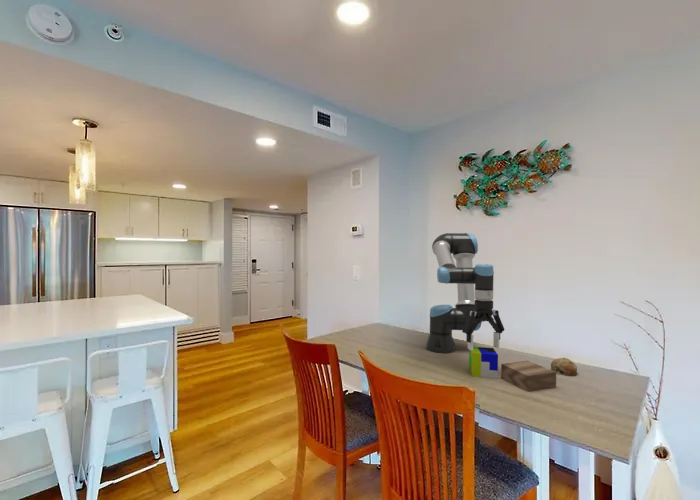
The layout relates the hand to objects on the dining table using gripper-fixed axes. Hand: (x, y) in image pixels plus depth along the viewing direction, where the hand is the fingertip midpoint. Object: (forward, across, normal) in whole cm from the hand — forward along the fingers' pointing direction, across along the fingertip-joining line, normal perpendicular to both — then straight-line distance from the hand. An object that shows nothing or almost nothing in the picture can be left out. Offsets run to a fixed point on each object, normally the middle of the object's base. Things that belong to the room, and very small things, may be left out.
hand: (483, 348), depth 148 cm
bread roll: (+11, +36, -8) cm, 39 cm away
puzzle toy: (+11, 0, +1) cm, 11 cm away
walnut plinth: (+11, +11, -14) cm, 20 cm away
